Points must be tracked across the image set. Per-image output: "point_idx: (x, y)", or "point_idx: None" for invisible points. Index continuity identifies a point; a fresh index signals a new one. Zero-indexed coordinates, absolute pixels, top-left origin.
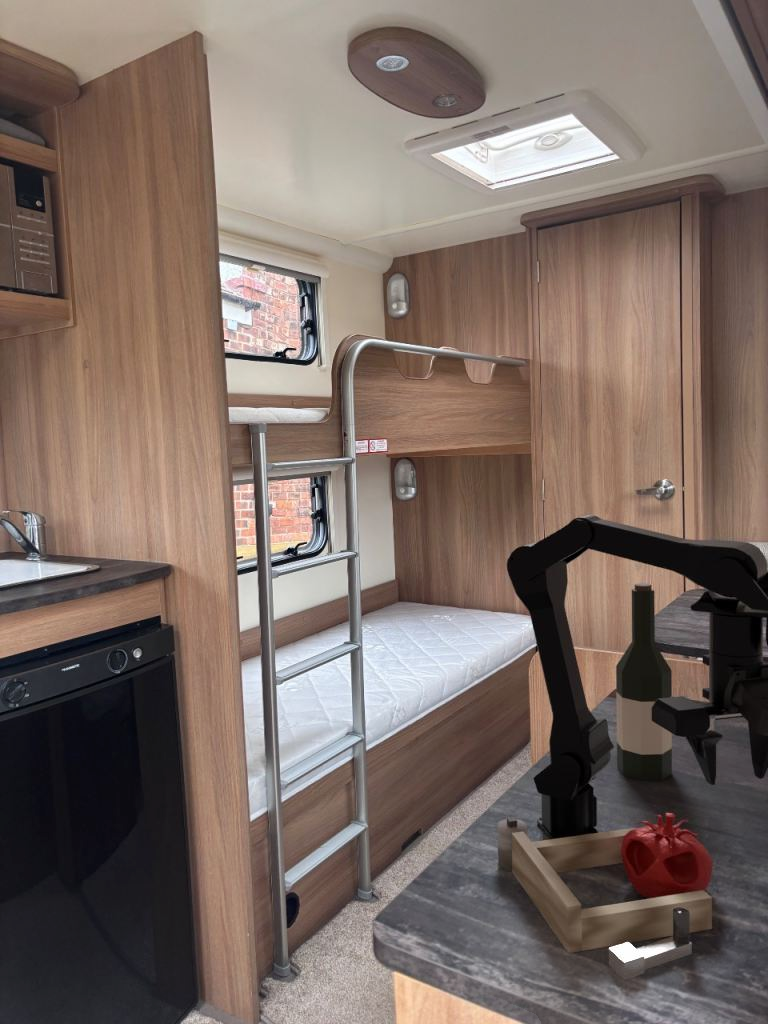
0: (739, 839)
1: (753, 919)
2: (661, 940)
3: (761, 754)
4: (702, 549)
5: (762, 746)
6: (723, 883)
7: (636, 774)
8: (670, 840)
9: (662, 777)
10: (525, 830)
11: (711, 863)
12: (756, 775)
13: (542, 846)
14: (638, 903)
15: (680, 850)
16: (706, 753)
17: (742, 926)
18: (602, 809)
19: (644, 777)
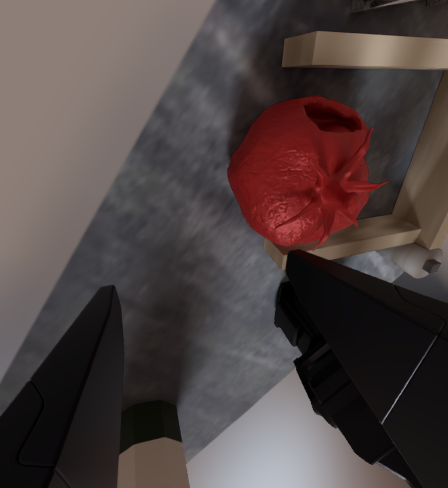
0: (95, 279)
1: (203, 44)
2: (396, 2)
3: (103, 370)
4: None
5: (92, 418)
6: (190, 164)
7: (165, 408)
8: (368, 147)
9: (132, 409)
10: (420, 254)
11: (263, 130)
12: (118, 303)
13: (405, 233)
14: (423, 56)
15: (340, 136)
16: (444, 302)
17: (234, 28)
18: (240, 339)
19: (156, 405)
